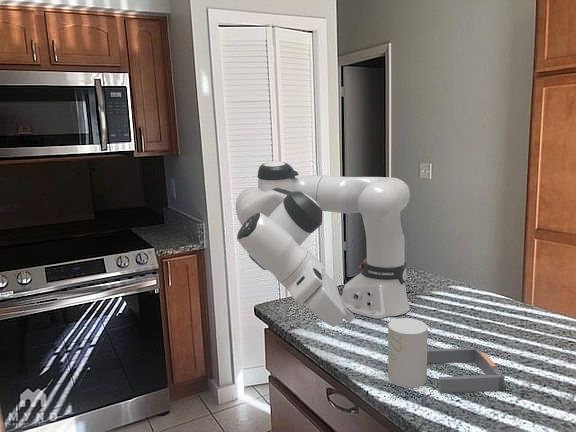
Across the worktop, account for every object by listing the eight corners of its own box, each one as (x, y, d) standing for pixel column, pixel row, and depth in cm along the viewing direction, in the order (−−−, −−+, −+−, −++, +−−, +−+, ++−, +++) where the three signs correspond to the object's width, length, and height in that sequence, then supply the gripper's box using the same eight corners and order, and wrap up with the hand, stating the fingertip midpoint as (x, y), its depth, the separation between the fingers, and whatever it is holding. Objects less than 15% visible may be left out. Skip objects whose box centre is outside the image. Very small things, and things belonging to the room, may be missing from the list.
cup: (386, 367, 104) (386, 318, 102) (422, 368, 103) (423, 318, 101) (390, 387, 96) (390, 333, 94) (430, 388, 95) (431, 334, 93)
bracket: (440, 393, 93) (440, 377, 92) (421, 361, 106) (421, 347, 105) (503, 390, 93) (504, 374, 92) (477, 359, 106) (477, 345, 105)
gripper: (292, 271, 106) (335, 309, 107) (294, 303, 85) (347, 350, 87) (311, 251, 105) (354, 290, 106) (317, 279, 85) (370, 327, 86)
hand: (351, 317), depth 97 cm, fingers closed
